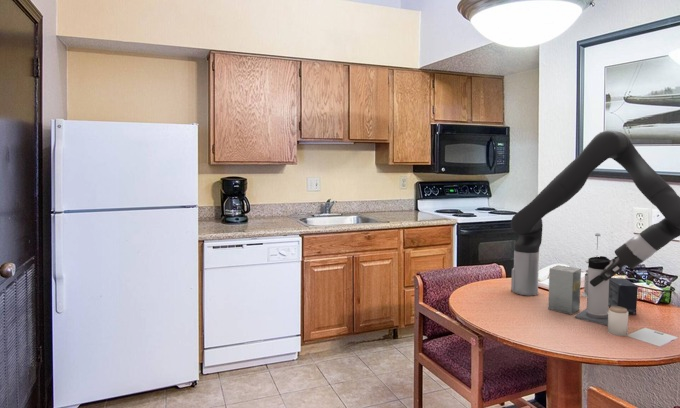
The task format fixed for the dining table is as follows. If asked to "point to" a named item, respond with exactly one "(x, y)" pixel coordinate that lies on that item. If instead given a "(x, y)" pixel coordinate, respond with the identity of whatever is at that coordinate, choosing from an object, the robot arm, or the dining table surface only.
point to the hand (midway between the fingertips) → (592, 281)
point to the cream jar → (618, 321)
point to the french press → (587, 272)
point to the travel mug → (597, 289)
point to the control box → (564, 289)
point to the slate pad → (585, 317)
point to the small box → (623, 294)
